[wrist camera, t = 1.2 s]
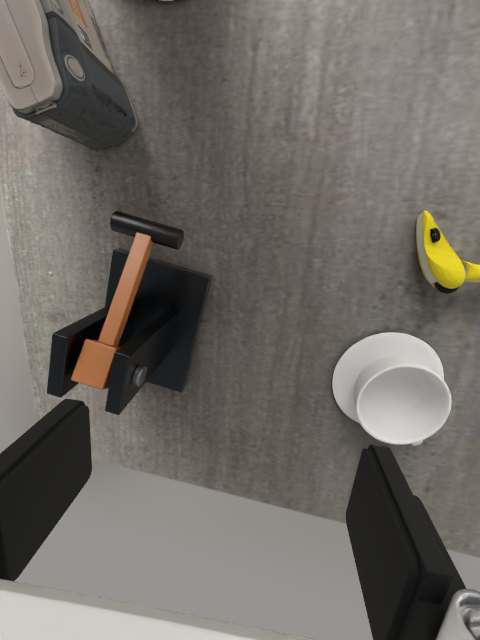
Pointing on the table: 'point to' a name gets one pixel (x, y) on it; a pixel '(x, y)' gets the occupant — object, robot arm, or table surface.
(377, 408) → the teacup
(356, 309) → the table surface
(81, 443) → the robot arm
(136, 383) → the bracket
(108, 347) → the lever
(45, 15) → the camera
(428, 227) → the yellow curved piece
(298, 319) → the table surface
